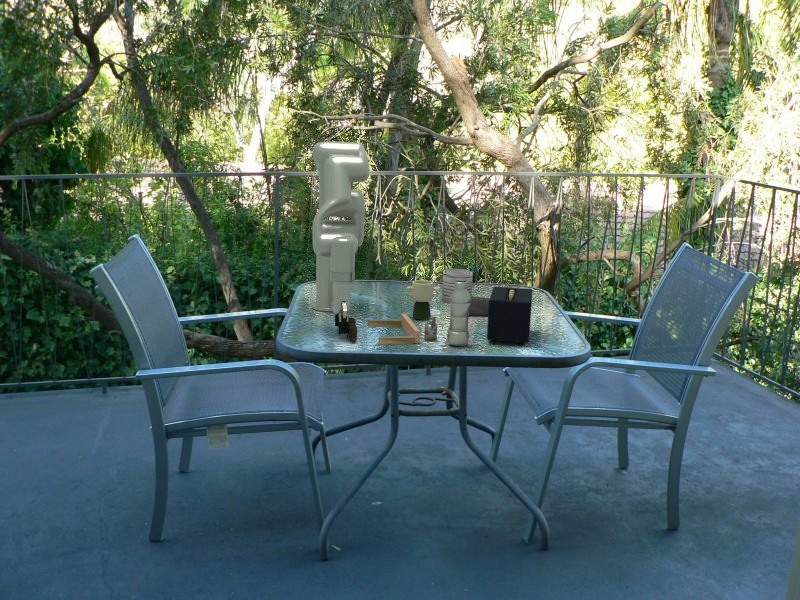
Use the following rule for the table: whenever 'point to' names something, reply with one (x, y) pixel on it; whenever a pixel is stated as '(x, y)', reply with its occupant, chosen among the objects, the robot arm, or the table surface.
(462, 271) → the can
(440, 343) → the table surface
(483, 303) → the perforated stone tool
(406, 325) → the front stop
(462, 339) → the plastic bottle
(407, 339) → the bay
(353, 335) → the dark brown log
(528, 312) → the speaker
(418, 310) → the character mug
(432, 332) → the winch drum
